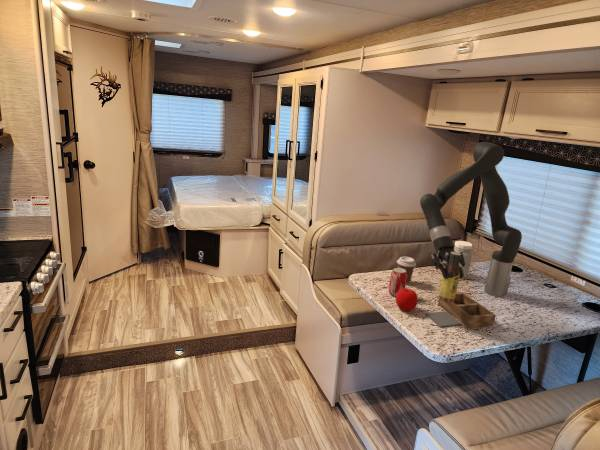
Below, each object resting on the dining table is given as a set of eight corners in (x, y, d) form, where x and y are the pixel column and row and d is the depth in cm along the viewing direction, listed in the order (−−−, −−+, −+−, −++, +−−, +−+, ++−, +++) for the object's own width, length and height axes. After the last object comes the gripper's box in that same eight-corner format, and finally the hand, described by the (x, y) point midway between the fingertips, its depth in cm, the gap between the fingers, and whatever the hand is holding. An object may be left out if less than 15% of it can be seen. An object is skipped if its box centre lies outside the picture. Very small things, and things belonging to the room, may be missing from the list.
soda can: (404, 298, 176) (408, 274, 173) (388, 296, 177) (391, 271, 174) (403, 292, 183) (407, 268, 179) (388, 289, 184) (391, 265, 180)
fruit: (398, 301, 173) (401, 280, 170) (418, 307, 169) (422, 286, 166) (391, 309, 166) (394, 287, 163) (412, 316, 161) (416, 294, 158)
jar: (444, 271, 211) (450, 239, 206) (461, 271, 212) (468, 240, 207) (453, 279, 201) (459, 246, 196) (470, 279, 203) (478, 246, 197)
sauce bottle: (452, 305, 154) (462, 257, 148) (436, 300, 157) (445, 253, 151) (456, 298, 159) (466, 253, 153) (440, 294, 162) (449, 249, 156)
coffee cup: (403, 276, 200) (406, 254, 197) (416, 283, 193) (420, 261, 189) (390, 279, 196) (393, 256, 192) (403, 286, 188) (407, 263, 185)
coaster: (445, 312, 166) (446, 311, 166) (461, 325, 157) (461, 323, 157) (425, 314, 164) (425, 313, 163) (439, 327, 154) (440, 325, 154)
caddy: (460, 302, 177) (462, 292, 175) (493, 326, 158) (495, 315, 157) (437, 304, 173) (439, 294, 172) (468, 328, 155) (470, 317, 153)
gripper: (431, 235, 155) (444, 275, 148) (461, 234, 160) (475, 273, 152) (421, 243, 162) (433, 282, 154) (450, 242, 166) (463, 280, 159)
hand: (454, 277), depth 153 cm, fingers closed on sauce bottle, 6 cm apart
